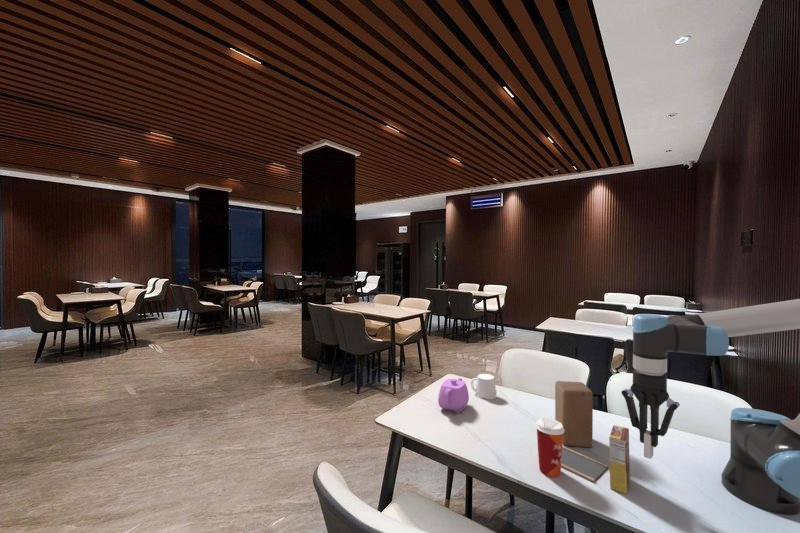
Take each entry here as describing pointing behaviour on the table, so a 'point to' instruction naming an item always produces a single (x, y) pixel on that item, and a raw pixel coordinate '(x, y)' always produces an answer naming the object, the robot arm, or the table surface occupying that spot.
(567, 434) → the wooden block
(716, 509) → the table surface
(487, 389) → the mug
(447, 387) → the teapot
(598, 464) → the grey flat slab
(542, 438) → the coffee cup
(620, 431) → the candy box
